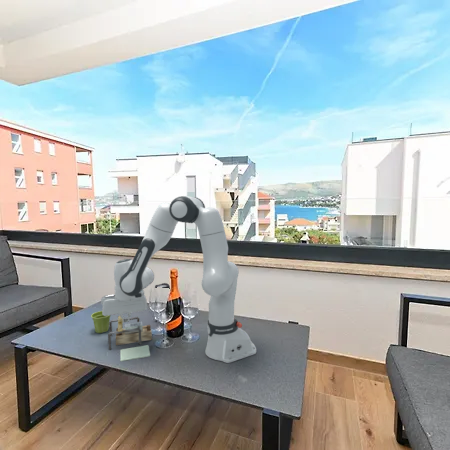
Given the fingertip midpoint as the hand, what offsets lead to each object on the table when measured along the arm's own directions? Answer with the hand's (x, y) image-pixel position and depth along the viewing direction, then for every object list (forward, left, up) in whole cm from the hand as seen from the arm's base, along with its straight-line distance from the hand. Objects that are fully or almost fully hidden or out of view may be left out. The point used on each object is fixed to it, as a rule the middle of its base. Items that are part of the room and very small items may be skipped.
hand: (125, 321), depth 137 cm
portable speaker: (-19, -17, -9) cm, 27 cm away
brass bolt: (+3, 0, -1) cm, 3 cm away
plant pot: (+12, -14, -9) cm, 20 cm away
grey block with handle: (-3, 0, -6) cm, 7 cm away
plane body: (-2, 0, -9) cm, 9 cm away
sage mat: (-3, +14, -9) cm, 17 cm away
